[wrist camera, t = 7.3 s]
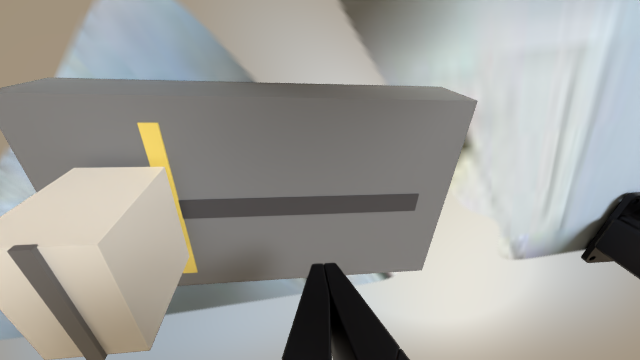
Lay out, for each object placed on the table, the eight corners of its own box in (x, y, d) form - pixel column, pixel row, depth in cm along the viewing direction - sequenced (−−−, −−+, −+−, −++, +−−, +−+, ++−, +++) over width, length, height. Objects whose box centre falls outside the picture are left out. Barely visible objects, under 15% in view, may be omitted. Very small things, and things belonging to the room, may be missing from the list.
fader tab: (164, 165, 10) (92, 247, 6) (189, 256, 13) (148, 356, 9) (73, 166, 10) (-60, 254, 6) (117, 260, 12) (41, 365, 8)
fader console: (440, 86, 14) (478, 101, 11) (402, 236, 18) (422, 271, 16) (48, 77, 11) (-24, 92, 9) (123, 249, 16) (92, 292, 14)
